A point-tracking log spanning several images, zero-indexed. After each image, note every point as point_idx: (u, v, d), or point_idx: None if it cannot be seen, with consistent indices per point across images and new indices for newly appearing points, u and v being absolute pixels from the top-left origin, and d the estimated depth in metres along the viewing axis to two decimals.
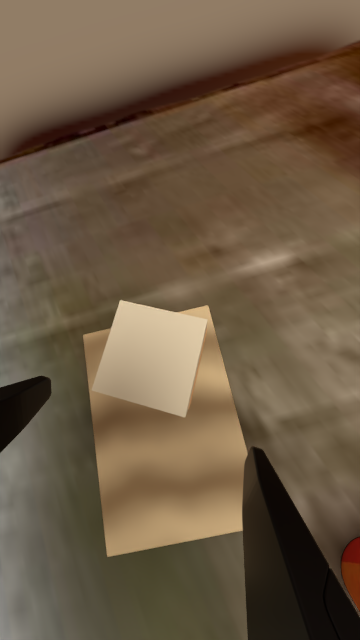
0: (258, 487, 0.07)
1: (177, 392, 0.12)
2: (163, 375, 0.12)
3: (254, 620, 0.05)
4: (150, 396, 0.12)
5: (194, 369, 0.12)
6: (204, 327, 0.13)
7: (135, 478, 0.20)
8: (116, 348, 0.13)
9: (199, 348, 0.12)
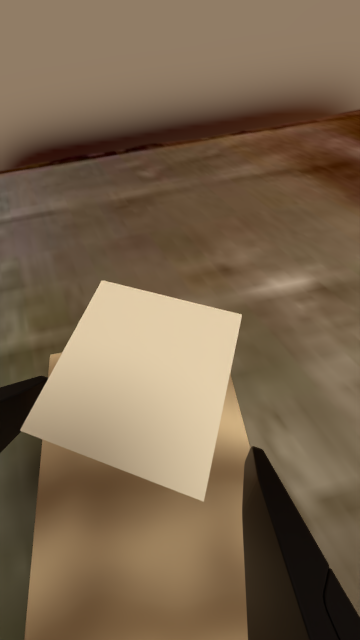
0: (258, 487, 0.07)
1: (190, 443, 0.06)
2: (162, 406, 0.06)
3: (254, 620, 0.05)
4: (134, 449, 0.06)
5: (221, 398, 0.07)
6: (237, 326, 0.08)
7: (91, 602, 0.12)
8: (83, 353, 0.07)
9: (229, 360, 0.07)
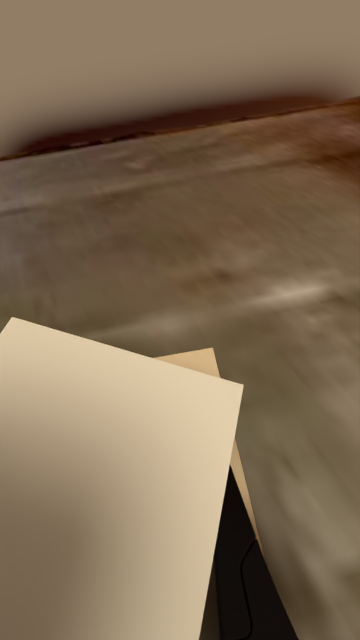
0: None
1: None
2: (79, 602, 0.03)
3: None
4: None
5: (202, 582, 0.03)
6: (235, 410, 0.04)
7: None
8: None
9: (220, 487, 0.04)
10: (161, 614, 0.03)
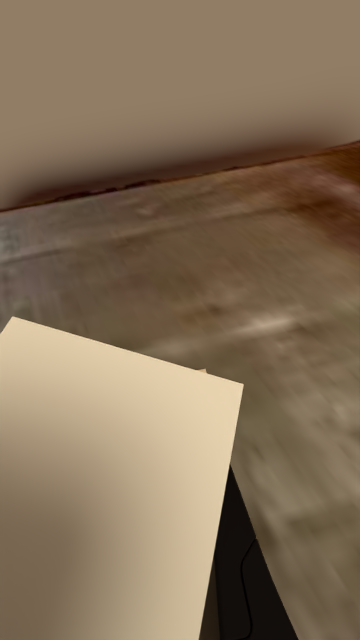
0: None
1: None
2: (80, 600, 0.03)
3: None
4: None
5: (202, 580, 0.03)
6: (234, 409, 0.04)
7: None
8: None
9: (220, 485, 0.04)
10: (161, 612, 0.03)
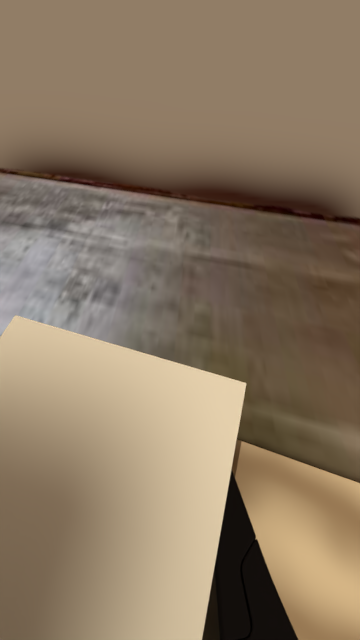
0: None
1: None
2: (83, 598, 0.03)
3: None
4: None
5: (205, 578, 0.03)
6: (237, 408, 0.04)
7: None
8: None
9: (223, 484, 0.04)
10: (165, 610, 0.03)
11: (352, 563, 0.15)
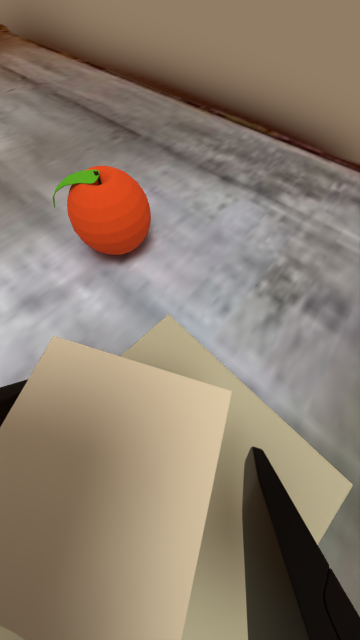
0: (258, 487, 0.07)
1: (150, 606, 0.04)
2: (115, 539, 0.05)
3: (254, 620, 0.05)
4: (70, 615, 0.04)
5: (199, 527, 0.05)
6: (225, 409, 0.06)
7: None
8: (16, 448, 0.05)
9: (213, 464, 0.05)
10: (171, 547, 0.05)
11: None
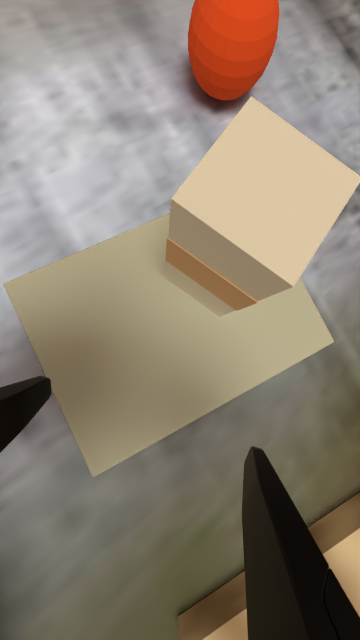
0: (258, 487, 0.07)
1: (294, 251, 0.08)
2: (280, 221, 0.08)
3: (254, 620, 0.05)
4: (255, 241, 0.08)
5: (324, 232, 0.08)
6: (355, 186, 0.09)
7: None
8: (225, 158, 0.08)
9: (340, 209, 0.08)
10: (309, 234, 0.08)
11: None
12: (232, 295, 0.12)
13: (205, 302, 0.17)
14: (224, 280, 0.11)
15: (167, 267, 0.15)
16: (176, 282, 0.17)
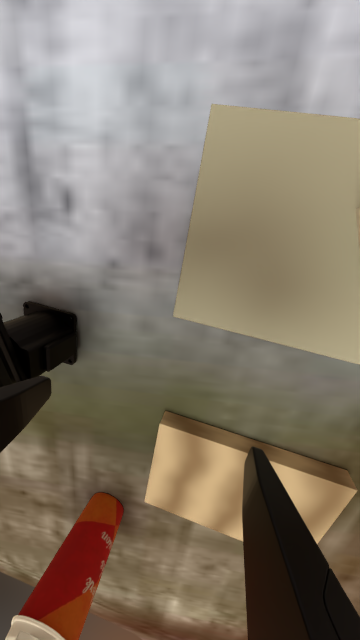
0: (258, 487, 0.07)
1: None
2: None
3: (254, 620, 0.05)
4: None
5: None
6: None
7: (201, 462, 0.24)
8: None
9: None
10: None
11: None
12: None
13: None
14: None
15: None
16: None
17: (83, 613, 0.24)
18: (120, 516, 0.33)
